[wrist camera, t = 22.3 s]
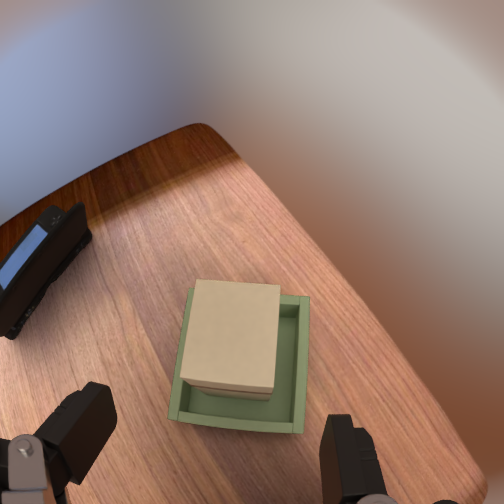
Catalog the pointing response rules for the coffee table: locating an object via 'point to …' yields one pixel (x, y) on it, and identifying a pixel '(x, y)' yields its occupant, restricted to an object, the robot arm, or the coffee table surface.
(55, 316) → the coffee table surface
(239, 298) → the tan lidded box
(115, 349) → the coffee table surface
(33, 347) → the coffee table surface
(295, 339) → the socket
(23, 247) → the game console
